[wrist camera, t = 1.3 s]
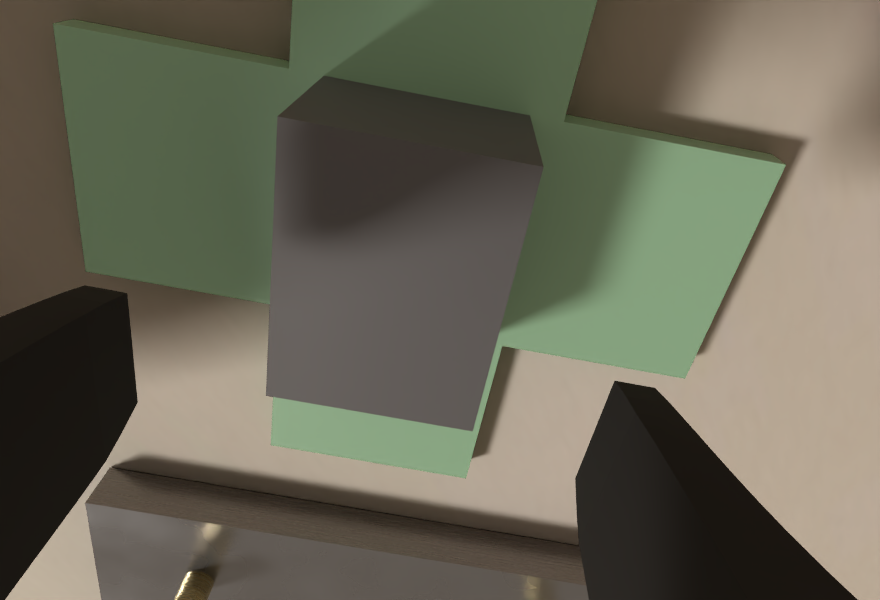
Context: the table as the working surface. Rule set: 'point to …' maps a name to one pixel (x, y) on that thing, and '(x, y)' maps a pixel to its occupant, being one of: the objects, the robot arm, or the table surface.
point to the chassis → (303, 550)
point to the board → (581, 230)
